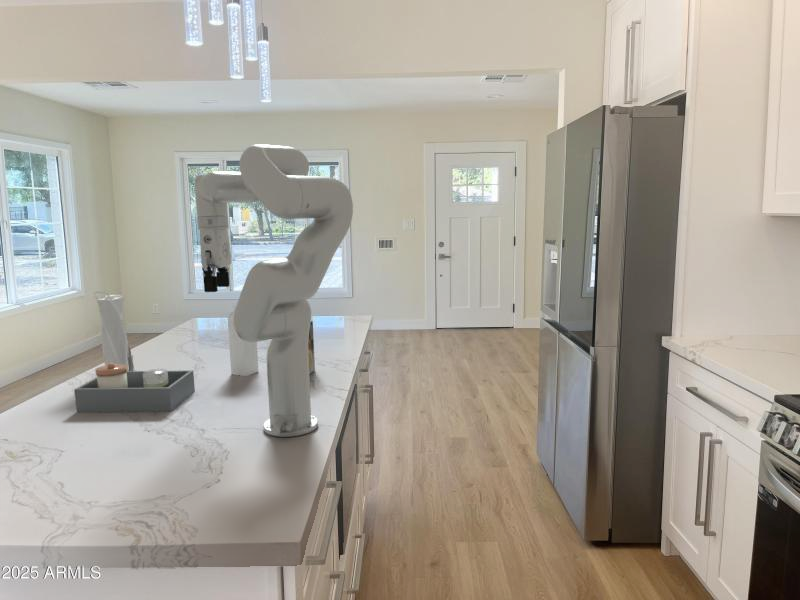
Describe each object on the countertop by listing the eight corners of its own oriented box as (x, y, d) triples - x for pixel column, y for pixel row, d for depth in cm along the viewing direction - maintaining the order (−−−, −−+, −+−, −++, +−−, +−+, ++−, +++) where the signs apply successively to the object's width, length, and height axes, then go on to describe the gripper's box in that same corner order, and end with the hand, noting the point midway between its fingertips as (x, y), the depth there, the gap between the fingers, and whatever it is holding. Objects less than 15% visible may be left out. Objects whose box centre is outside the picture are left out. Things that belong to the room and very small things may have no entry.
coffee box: (296, 369, 183) (294, 320, 180) (315, 370, 181) (313, 320, 179) (285, 378, 174) (282, 326, 171) (305, 378, 173) (302, 326, 170)
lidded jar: (121, 406, 148) (117, 366, 146) (93, 406, 148) (89, 367, 146) (135, 396, 155) (131, 359, 154) (108, 397, 155) (104, 359, 154)
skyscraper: (105, 387, 167) (95, 293, 163) (101, 381, 174) (92, 290, 169) (136, 382, 172) (127, 290, 167) (132, 376, 178) (123, 287, 174)
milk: (231, 374, 179) (225, 305, 175) (244, 369, 184) (239, 302, 180) (246, 376, 176) (241, 306, 172) (259, 371, 181) (254, 303, 178)
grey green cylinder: (164, 405, 148) (161, 375, 147) (140, 405, 148) (138, 375, 147) (173, 397, 154) (171, 368, 153) (151, 397, 154) (149, 368, 153)
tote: (171, 415, 144) (169, 388, 142) (77, 416, 144) (74, 389, 143) (195, 394, 159) (193, 370, 158) (110, 395, 160) (107, 371, 159)
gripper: (216, 223, 138) (221, 293, 141) (237, 222, 155) (241, 284, 158) (185, 224, 138) (190, 294, 141) (210, 222, 155) (214, 285, 158)
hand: (217, 289), depth 149 cm, fingers open, 9 cm apart
